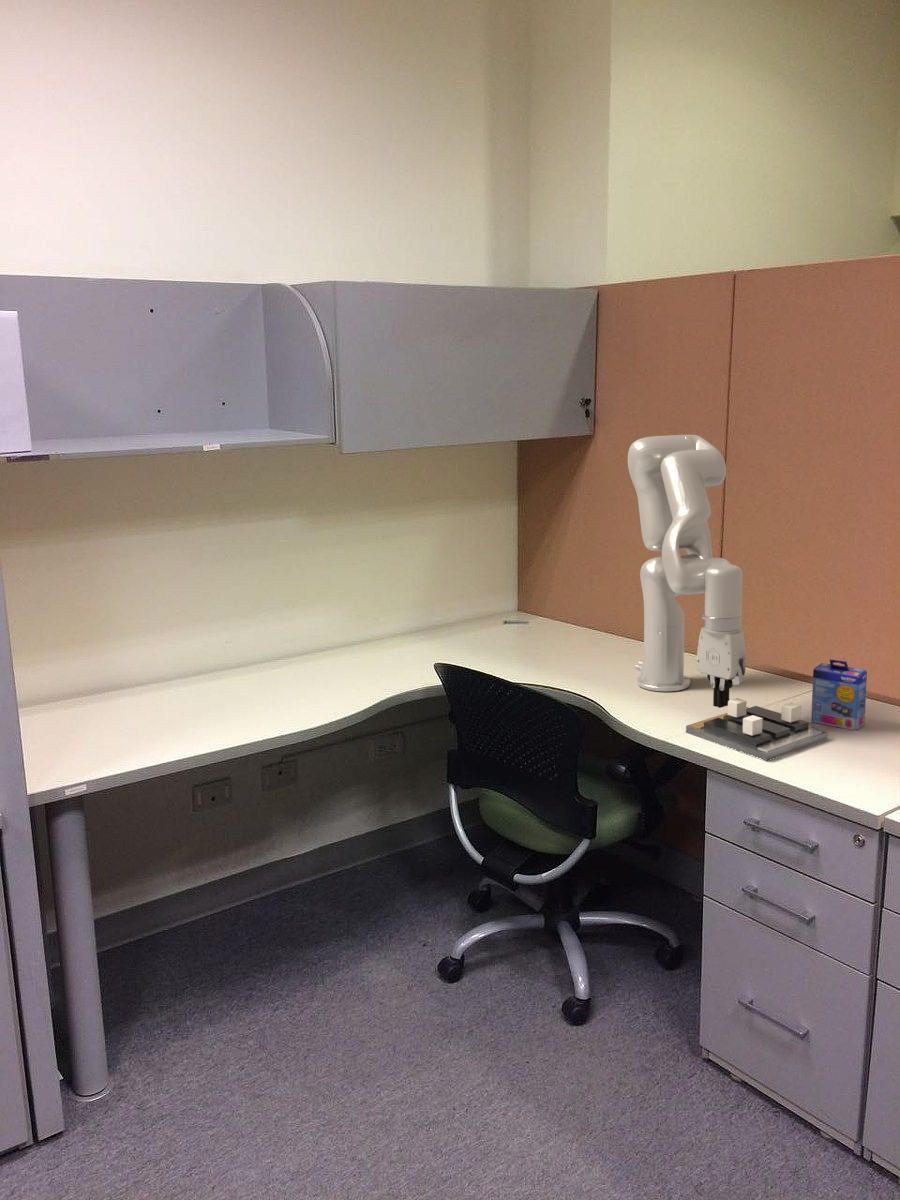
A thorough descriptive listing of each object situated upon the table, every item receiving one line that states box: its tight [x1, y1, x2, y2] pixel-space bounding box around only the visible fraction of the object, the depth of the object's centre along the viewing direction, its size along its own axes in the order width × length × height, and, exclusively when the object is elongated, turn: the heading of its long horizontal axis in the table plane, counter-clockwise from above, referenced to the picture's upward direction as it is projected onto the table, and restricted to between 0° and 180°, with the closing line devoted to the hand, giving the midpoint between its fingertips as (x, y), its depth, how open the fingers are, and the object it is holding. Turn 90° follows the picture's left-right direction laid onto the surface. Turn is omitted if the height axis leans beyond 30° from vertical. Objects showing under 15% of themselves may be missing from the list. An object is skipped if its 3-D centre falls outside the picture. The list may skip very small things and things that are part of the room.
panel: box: [685, 705, 829, 762], centre depth 210 cm, size 21×19×3 cm
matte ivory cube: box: [727, 697, 747, 718], centre depth 214 cm, size 2×3×3 cm
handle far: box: [781, 702, 802, 722], centre depth 209 cm, size 2×3×3 cm
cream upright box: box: [743, 715, 763, 736], centre depth 203 cm, size 2×3×3 cm
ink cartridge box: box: [810, 658, 868, 731], centre depth 214 cm, size 10×6×14 cm, turn 51°
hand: (721, 705), depth 217 cm, fingers closed
